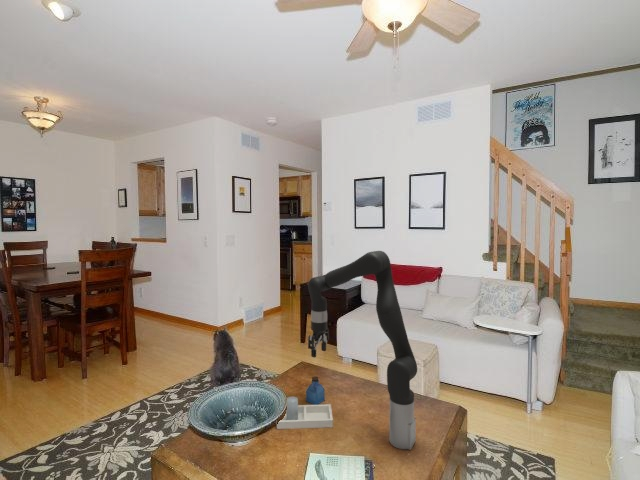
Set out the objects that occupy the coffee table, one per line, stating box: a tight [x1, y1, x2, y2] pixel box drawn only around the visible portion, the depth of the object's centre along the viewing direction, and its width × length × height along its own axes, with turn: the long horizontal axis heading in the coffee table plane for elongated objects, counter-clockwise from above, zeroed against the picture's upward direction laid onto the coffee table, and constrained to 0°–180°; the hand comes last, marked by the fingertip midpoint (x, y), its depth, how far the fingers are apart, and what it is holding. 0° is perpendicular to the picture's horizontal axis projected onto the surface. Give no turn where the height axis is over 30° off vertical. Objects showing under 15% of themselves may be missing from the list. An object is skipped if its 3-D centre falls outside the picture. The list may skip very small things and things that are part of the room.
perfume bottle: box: [305, 376, 326, 405], centre depth 161 cm, size 6×6×12 cm
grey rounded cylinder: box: [286, 395, 299, 420], centre depth 146 cm, size 5×5×9 cm
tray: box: [276, 403, 334, 430], centre depth 146 cm, size 23×12×4 cm, turn 92°
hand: (318, 353), depth 158 cm, fingers open, 8 cm apart
